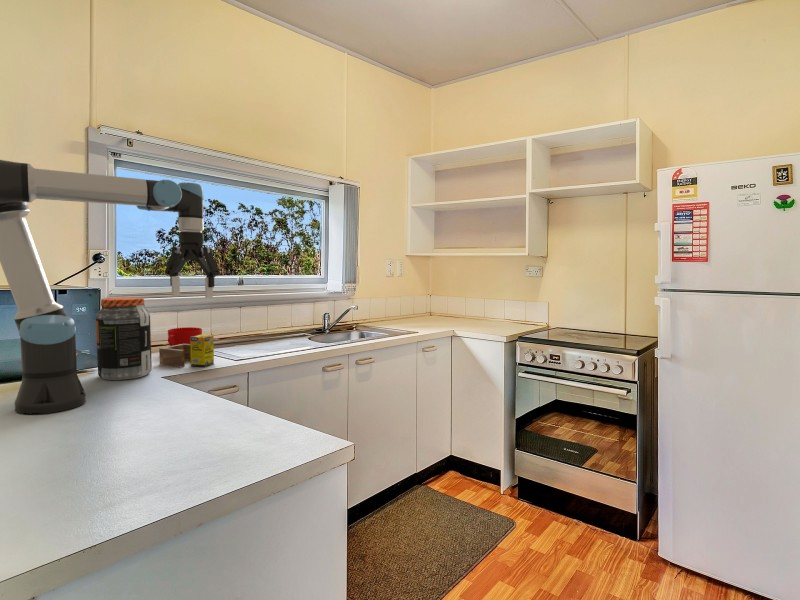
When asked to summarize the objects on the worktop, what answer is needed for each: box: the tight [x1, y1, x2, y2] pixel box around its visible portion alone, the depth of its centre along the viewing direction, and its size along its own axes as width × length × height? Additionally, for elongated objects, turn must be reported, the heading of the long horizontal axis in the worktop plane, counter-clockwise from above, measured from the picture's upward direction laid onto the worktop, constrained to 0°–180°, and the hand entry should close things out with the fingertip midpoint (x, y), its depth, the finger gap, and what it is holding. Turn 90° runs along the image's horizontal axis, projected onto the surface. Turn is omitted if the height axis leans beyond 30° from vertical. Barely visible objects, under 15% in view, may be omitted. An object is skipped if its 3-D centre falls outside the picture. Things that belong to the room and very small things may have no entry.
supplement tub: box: [95, 297, 153, 381], centre depth 161 cm, size 16×16×26 cm
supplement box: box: [190, 334, 215, 368], centre depth 179 cm, size 6×6×11 cm
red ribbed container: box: [167, 326, 203, 346], centre depth 199 cm, size 13×17×10 cm
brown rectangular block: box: [158, 344, 191, 368], centre depth 183 cm, size 12×10×6 cm
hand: (192, 296), depth 159 cm, fingers open, 13 cm apart
